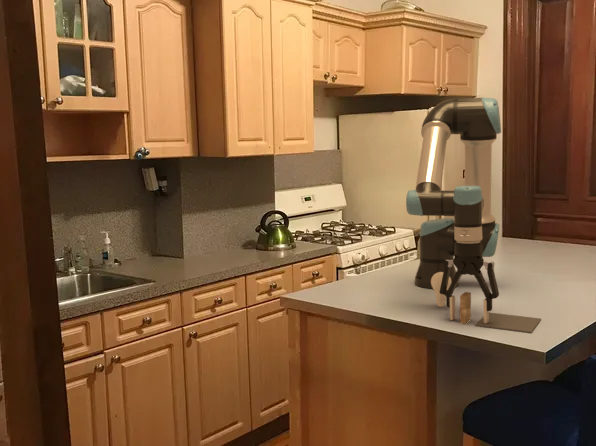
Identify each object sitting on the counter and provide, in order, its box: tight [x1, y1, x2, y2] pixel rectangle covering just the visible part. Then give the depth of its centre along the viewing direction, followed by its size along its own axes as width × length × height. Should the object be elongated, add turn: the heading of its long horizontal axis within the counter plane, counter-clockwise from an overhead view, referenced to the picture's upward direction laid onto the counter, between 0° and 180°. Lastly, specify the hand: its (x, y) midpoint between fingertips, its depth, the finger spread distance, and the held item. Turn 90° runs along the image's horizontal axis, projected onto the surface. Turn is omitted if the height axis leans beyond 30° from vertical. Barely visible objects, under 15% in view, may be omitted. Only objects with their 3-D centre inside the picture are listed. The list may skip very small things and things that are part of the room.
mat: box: [474, 311, 542, 334], centre depth 178 cm, size 15×14×1 cm
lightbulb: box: [431, 272, 451, 308], centre depth 196 cm, size 6×6×11 cm
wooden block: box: [459, 291, 472, 325], centre depth 180 cm, size 2×5×8 cm, turn 150°
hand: (469, 320), depth 180 cm, fingers open, 9 cm apart
